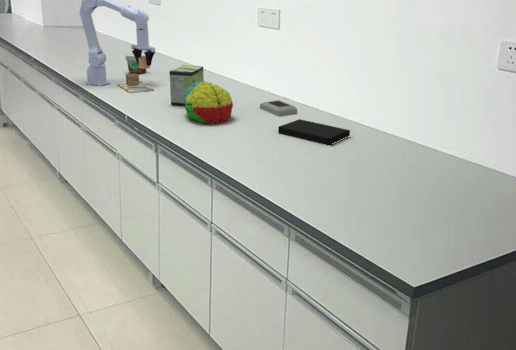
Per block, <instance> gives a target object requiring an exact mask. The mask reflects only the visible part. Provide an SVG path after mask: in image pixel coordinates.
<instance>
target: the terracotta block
mask: <svg viewBox="0 0 516 350" xmlns="http://www.w3.org/2000/svg"><path fill="white" fill-rule="evenodd" d="M138 62H139V68H141V69H146V70H147V69H150V68H151V66H147V62H146V57H138Z"/></svg>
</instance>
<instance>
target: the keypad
mask: <svg viewBox="0 0 516 350" xmlns="http://www.w3.org/2000/svg"><path fill="white" fill-rule="evenodd" d="M259 109H260V110H263V111H264V112H267V113H269V114H272V115H275V116H277V117H283V116H289V115H290V114H291V115H296V114H295V113H297V114H298V108H297V107H296V106H295V105H292V104H290V103H287V102H285V101H282V100H279V99H277V100H271V101H264V102H261V103H260V104H259ZM291 115H290V116H291Z"/></svg>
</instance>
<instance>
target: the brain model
mask: <svg viewBox="0 0 516 350" xmlns="http://www.w3.org/2000/svg"><path fill="white" fill-rule="evenodd" d="M184 104H185V105H186V106H184V108H185V112H186V114H187V116H189V117H190V118H191V119H192V120H195V121H198V122H200V123H203V124H204V123H205V124H209V123H213V124H219V123H221V124H222V123H223V122H224V123H225V122H227V121H228V120H229V119H230V118H231V116H232V112H233V111H232V109H233V107H234V105H233V100H232V96H231V94H230V93H229V91H228V90H226V89H225V88H223V87H221V86H218V84H214V83H213V82H211V81H210V82H209V81H206V80H205V81H202V82H196V83H194V84H193V85H192V86H191V87H190V88H188V89H187V91H186V93H185V96H184Z"/></svg>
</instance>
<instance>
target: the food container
mask: <svg viewBox="0 0 516 350" xmlns="http://www.w3.org/2000/svg"><path fill="white" fill-rule="evenodd" d="M141 57H146V56H145V55H141ZM125 60H126V63H127V69H128V74H137V75H139V76H140V75H145V74H147V68H146V69H141V68H139V64H137V61H136V58H135V56H134V55H133V56H131V55H127V54H126V56H125Z"/></svg>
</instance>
